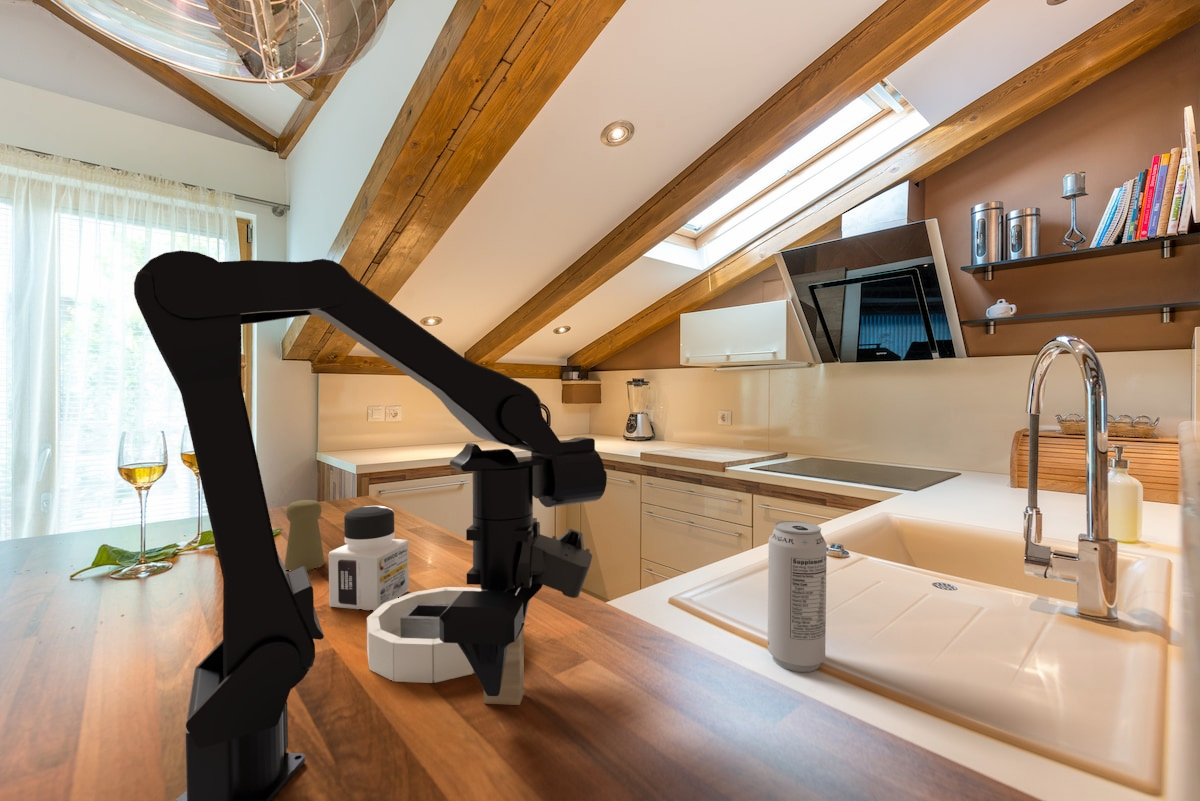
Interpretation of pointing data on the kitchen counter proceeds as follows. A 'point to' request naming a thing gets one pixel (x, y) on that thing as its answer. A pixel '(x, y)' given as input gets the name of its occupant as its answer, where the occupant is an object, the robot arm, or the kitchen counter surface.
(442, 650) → the white faceted bowl
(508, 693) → the wooden block
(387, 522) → the container
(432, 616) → the open rectangular box
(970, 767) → the kitchen counter surface
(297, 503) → the cork
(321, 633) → the robot arm
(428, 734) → the kitchen counter surface
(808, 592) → the energy drink can
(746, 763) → the kitchen counter surface
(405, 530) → the kitchen counter surface
